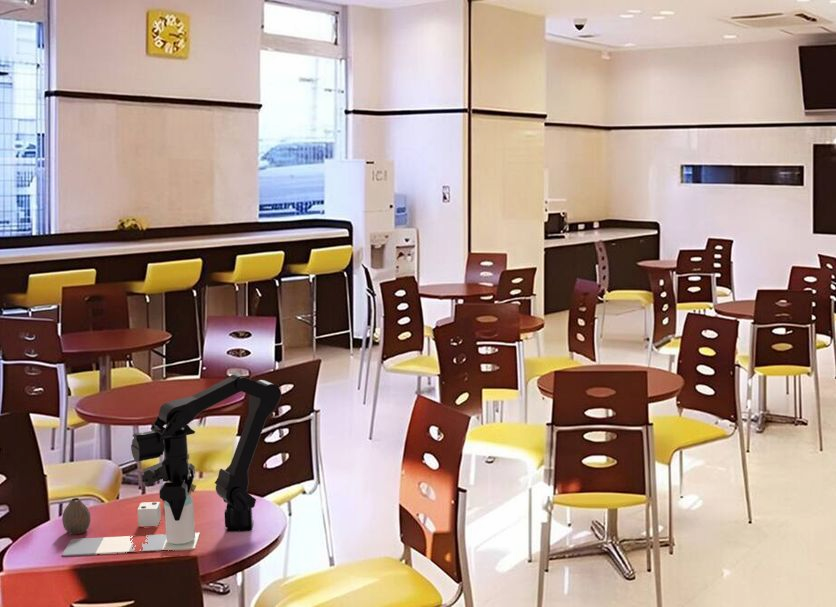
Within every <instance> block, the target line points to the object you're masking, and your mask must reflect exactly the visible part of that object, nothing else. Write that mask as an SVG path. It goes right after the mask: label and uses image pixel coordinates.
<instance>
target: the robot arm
mask: <svg viewBox="0 0 836 607" xmlns="http://www.w3.org/2000/svg"><path fill="white" fill-rule="evenodd" d="M240 392H242V393H245V394H247V395H248V414H247V418H246V420H245V422H244V426H243V429H242V430H241V431H242V432H241V434H240V436H239V439H238V443H237V445H236V447H235V451H234V454H233V457H232V458H231V462H230V465H228V466H227V468H226V469H223V468H220V469H219V471H218V475H217V476H218V477H217V479H216V480H215V481H214V484H215V491H216V494H217V495H218V496H219V497H220V498H221V499H222V500H223V503H225V504H226V507H225V510H224V527H225V529H226V532H227V533H235V532H236V533H237V532H251V531H253V528H254V520H253V508H254V507H255V506H256V502H257V500H256V498H255V497H254V496H252V495H251V494H249V493H248V488H249V469H250V466H251V463H252V461H253V458H254V455H255V452H256V449H257V446H258V443H259V441H260V438H261V435H262V432H263V430H264V427H265V423H266V421H267V419H268V417H269V416H271V414H272V413H273V412H274V411H275V410H276V408H277V406H278V404H279V402H280V401H281V398H282V391H281V389H280V387H279V385H276V384H275V383H272V382H270V381H267V380H264V379H259V380H257V381H256V380H253V379H251V378H248V377H246V376H244V375H241V374H239V373H233V374H230V376H229V377H227V378H225V379H223V380H221V381H219V382H217V383H215V384H213V385H211V386H209V387H207V388H205V389H203V390H201V391H199V392H197V393H195V394H193V395H191V396H188V397H183V398H178V399H177V398H176V399H174V400H170V401H167V402H165V403H163V404H162V405H161V406H160V407H159V411H158V415H157V417H156V418H155V420H154V422H153V424H152V425H151V427H150V430H151V431H145V432H135V433H133V439H132V440H131V441H132V442H131V444H130V450H131V454H132V457H133V460H134V461H135V463H139V462H143V461H144V462H145V461H149V460H152V459H158V458H160V457H161V456H163V457H164V458H163V460H162V461H161V462H159V463H156V464H154V465H151V466H148V467H146V468H144V469H143V470H142V472H141V474H140V475H141V476H140V477H141V481H142V483H144V484H145V486H151V485H152V484H153V483H156V482H159V481H161V480H162V482H164V483H163V484H162V485H161V487H160V488H159V492H158V493H159V499H160V500H161V501H163V502H165V501H166V502H168V503H169V505H170V508H171V511H172V514H173V516H174V519H175V521H179V520H180V517H181V514H182V510H183V507H184V504H185V501H186V498H187V495H188V494H187V492H188V493H189V491H190V488H191V485H192V484H193V482H194V479H195V473H196V470H195V468H196V467H195V465H194V464H192V463H191V462H189V460H190V453H189V452H188V448H189V447H188V437H187V436H190V435H194V434H196V431H195V430H193V429H192V428H191V426H189V424H190V423H191V422H193V421H194V420H195V418H196V417H197V416H198V415H199V414H200V413H202V412H203V411H206V410H207V409H209V408H211V407H213V406H215V405H217V404H218V403H221V402H222V401H225V400H227V399H228V398H231V397H233V396H234V395H237V394H238V393H240ZM165 425H166V426H165ZM164 426H165V427H164ZM168 481H169V483H167V482H168Z"/></svg>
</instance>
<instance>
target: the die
mask: <svg viewBox="0 0 836 607" xmlns="http://www.w3.org/2000/svg"><path fill="white" fill-rule="evenodd" d="M160 520H161V521H162V509H161V501H152V502H151V501H147V502H140V504H139V506H138V508H137V522H138V527H139V526H158V525H159V526H160V524H159V522H160V523H161V521H160ZM159 526H158V527H159Z"/></svg>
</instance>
